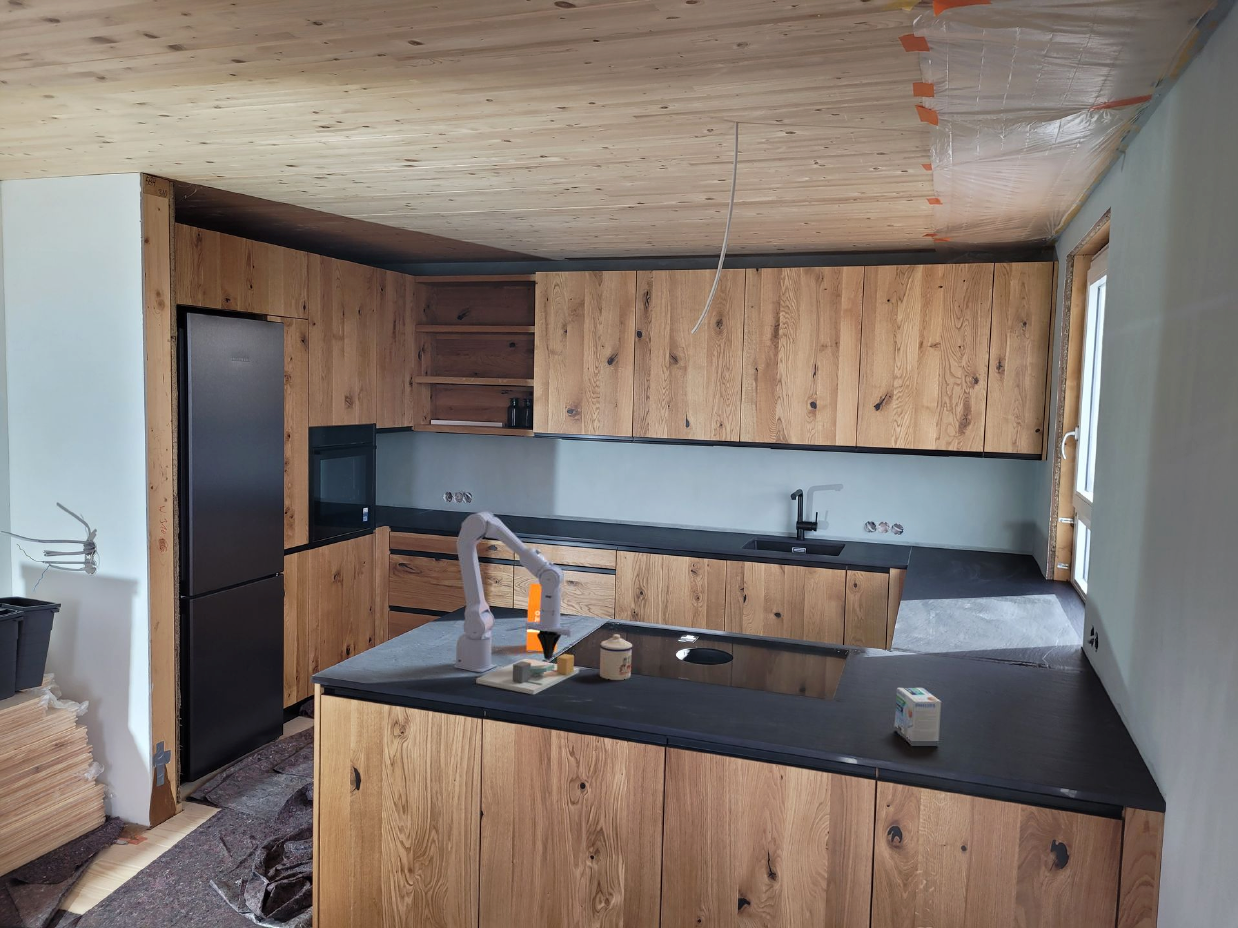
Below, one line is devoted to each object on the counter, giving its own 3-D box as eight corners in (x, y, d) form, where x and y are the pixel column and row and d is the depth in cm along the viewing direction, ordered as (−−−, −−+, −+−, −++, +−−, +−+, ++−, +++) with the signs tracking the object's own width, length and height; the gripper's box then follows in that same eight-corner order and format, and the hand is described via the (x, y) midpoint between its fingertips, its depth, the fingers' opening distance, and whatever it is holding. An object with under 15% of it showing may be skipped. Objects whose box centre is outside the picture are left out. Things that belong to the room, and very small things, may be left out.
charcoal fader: (512, 680, 243) (513, 664, 243) (520, 677, 247) (521, 661, 247) (522, 682, 242) (522, 666, 242) (530, 678, 246) (530, 662, 245)
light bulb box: (893, 730, 220) (895, 686, 219) (920, 731, 220) (923, 686, 220) (911, 747, 209) (913, 700, 208) (939, 747, 210) (942, 701, 209)
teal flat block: (521, 673, 250) (520, 669, 250) (530, 669, 253) (529, 665, 254) (546, 671, 246) (545, 667, 246) (554, 668, 250) (553, 663, 250)
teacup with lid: (624, 682, 250) (626, 640, 250) (593, 677, 254) (595, 636, 253) (639, 671, 261) (641, 631, 261) (609, 667, 265) (611, 627, 264)
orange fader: (556, 672, 252) (557, 656, 252) (564, 669, 256) (564, 653, 256) (566, 674, 251) (566, 658, 251) (573, 671, 255) (574, 655, 254)
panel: (476, 682, 245) (476, 675, 245) (524, 662, 266) (525, 655, 266) (533, 694, 237) (533, 686, 237) (578, 672, 258) (579, 664, 258)
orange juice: (555, 652, 279) (557, 587, 277) (526, 651, 279) (528, 586, 277) (557, 645, 286) (559, 582, 285) (529, 644, 286) (531, 581, 285)
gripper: (520, 608, 255) (518, 656, 255) (565, 616, 248) (563, 665, 249) (533, 604, 261) (531, 651, 262) (578, 611, 254) (576, 659, 255)
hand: (548, 658), depth 256 cm, fingers closed
